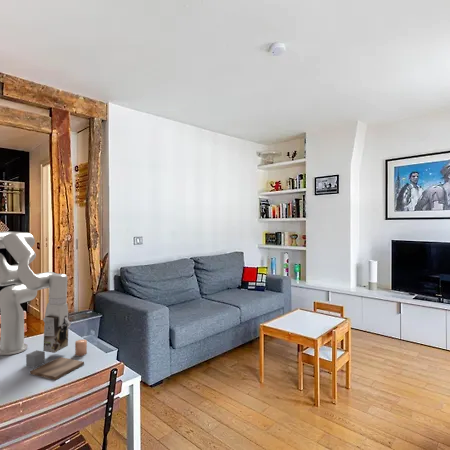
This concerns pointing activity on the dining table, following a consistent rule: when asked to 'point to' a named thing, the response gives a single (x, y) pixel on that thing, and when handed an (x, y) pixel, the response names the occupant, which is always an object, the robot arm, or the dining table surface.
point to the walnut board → (57, 368)
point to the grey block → (35, 358)
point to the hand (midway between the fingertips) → (56, 337)
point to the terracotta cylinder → (81, 347)
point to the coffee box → (53, 335)
